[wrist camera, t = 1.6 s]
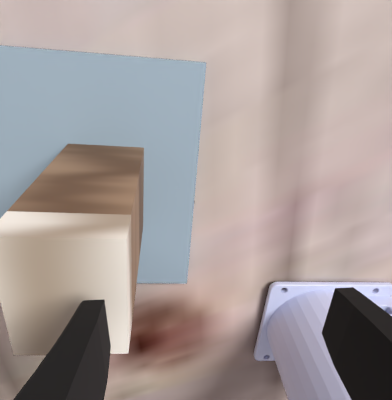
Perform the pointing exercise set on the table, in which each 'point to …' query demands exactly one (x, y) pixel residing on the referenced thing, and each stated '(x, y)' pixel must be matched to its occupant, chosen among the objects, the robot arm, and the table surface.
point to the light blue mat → (109, 133)
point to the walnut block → (73, 246)
